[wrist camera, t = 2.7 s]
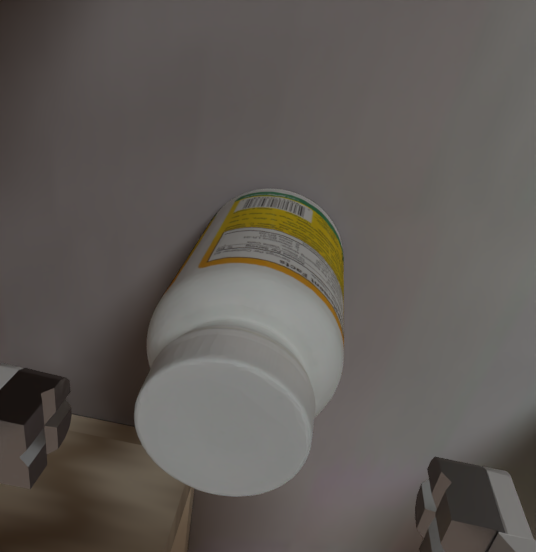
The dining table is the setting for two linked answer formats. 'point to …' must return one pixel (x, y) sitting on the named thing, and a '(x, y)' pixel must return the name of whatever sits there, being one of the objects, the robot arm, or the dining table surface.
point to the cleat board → (97, 498)
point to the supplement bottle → (246, 347)
